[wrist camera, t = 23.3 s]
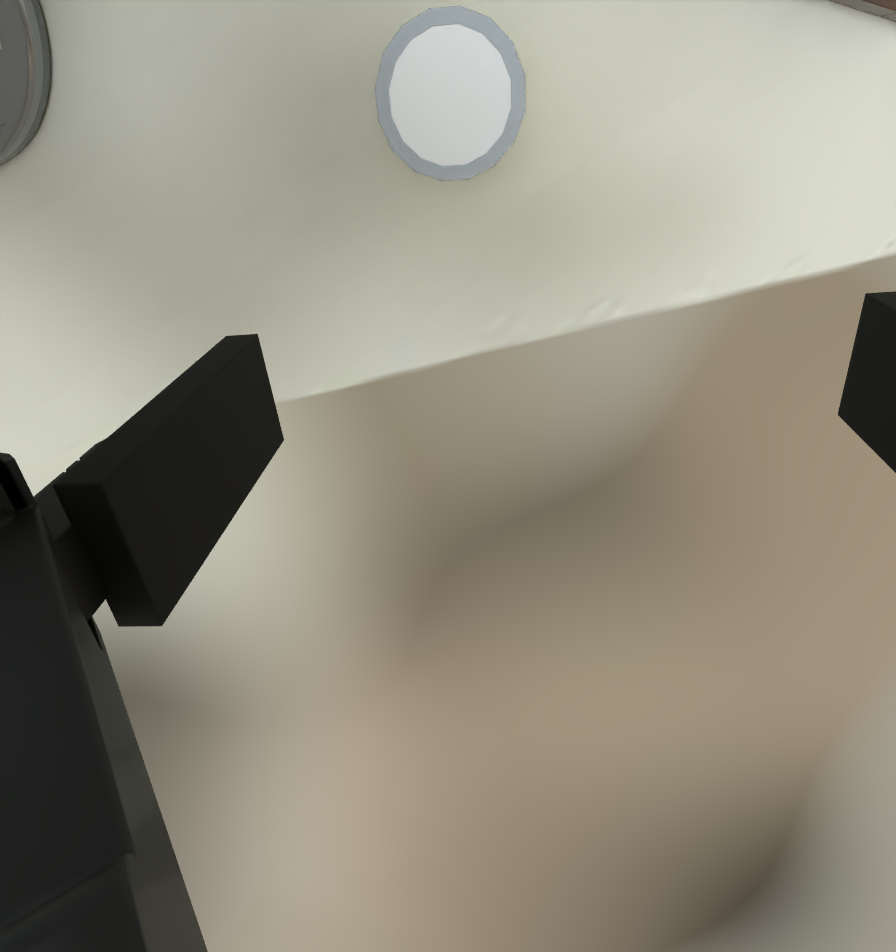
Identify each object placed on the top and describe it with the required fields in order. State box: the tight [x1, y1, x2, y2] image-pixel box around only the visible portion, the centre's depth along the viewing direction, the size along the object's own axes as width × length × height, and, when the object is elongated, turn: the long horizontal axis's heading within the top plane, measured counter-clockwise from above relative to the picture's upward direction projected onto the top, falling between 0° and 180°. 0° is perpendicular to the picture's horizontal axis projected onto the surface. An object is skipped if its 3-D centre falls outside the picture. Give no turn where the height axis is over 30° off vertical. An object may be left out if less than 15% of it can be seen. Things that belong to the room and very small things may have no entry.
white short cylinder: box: [375, 6, 525, 181], centre depth 32 cm, size 7×7×7 cm
